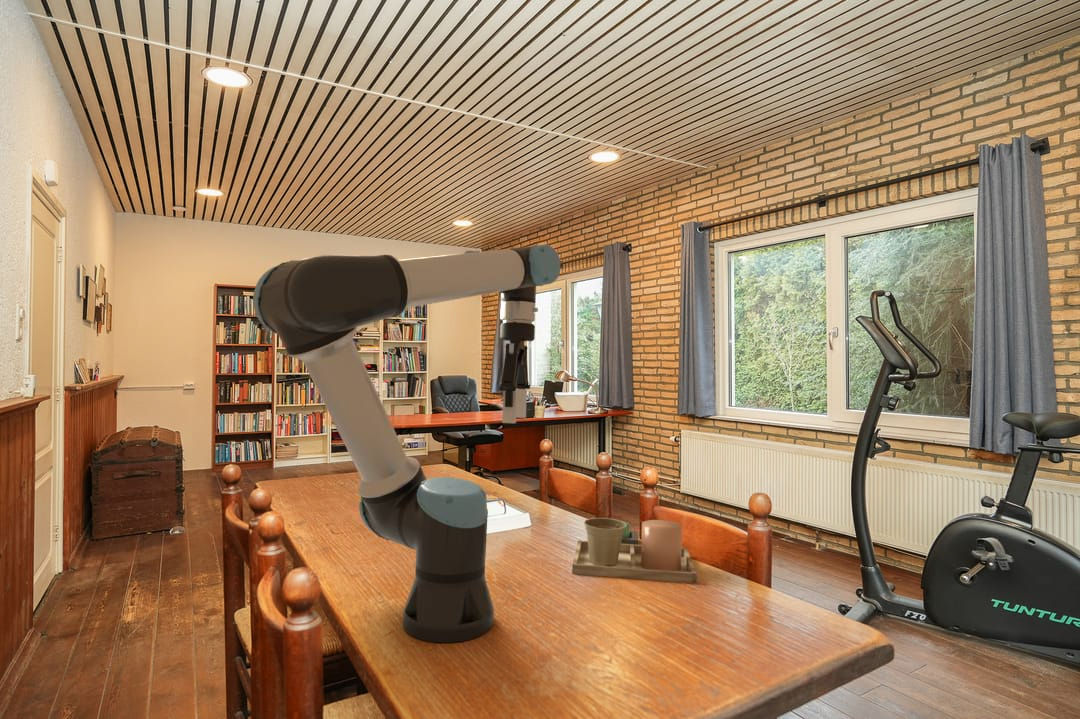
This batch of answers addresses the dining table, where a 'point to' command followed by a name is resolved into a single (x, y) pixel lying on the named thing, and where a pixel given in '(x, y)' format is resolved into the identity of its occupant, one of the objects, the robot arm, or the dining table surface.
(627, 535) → the button
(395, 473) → the robot arm
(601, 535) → the flower pot
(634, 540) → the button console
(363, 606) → the dining table surface
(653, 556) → the taupe pillar candle
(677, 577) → the wooden serving tray
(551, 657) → the dining table surface
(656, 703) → the dining table surface
